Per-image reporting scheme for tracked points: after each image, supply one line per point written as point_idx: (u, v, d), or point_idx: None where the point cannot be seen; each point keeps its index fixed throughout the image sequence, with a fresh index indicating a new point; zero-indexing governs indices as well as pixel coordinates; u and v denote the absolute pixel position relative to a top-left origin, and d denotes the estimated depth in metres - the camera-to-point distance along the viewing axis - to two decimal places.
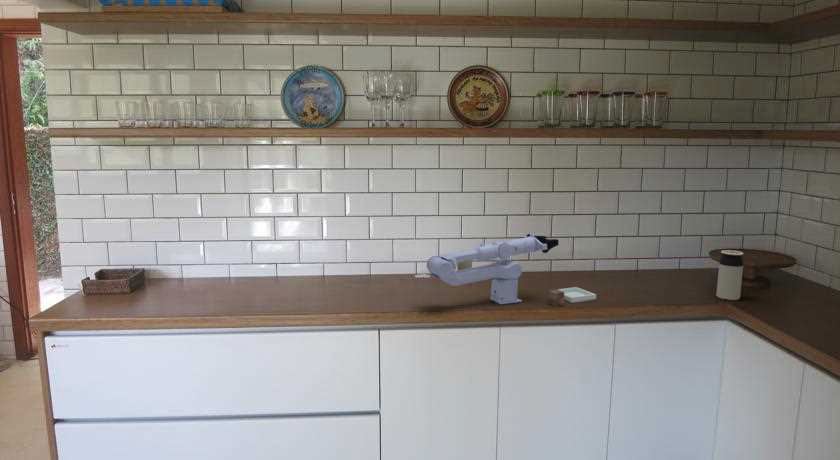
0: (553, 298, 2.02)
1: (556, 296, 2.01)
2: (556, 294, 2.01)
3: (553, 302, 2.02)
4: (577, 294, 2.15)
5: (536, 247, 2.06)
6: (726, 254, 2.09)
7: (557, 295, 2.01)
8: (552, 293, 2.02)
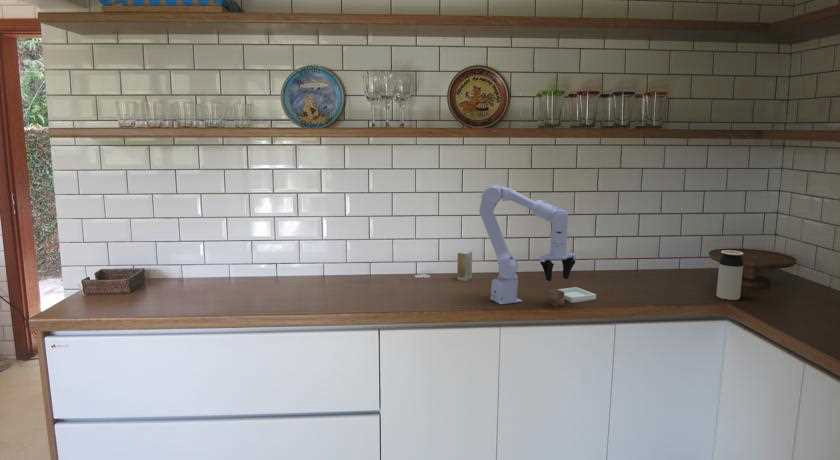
0: (553, 298, 2.02)
1: (556, 296, 2.01)
2: (556, 294, 2.01)
3: (553, 302, 2.02)
4: (577, 294, 2.15)
5: (550, 255, 2.00)
6: (726, 254, 2.09)
7: (557, 294, 2.01)
8: (552, 293, 2.02)
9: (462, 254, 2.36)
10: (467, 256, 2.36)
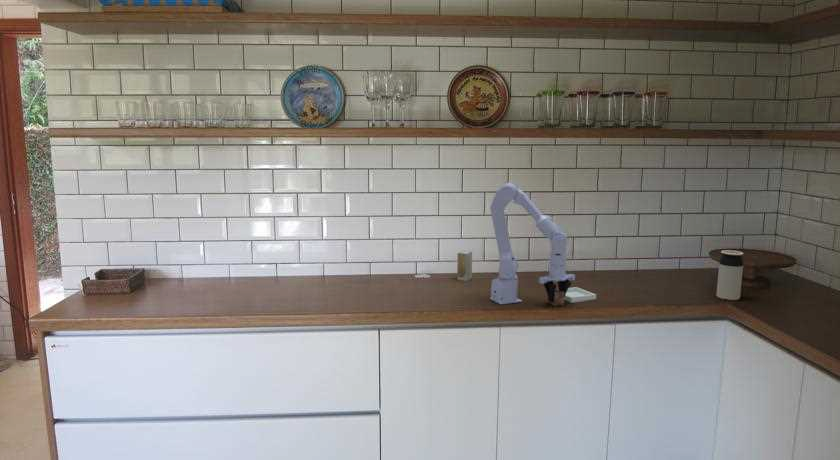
0: None
1: (556, 296, 2.01)
2: (556, 294, 2.01)
3: (553, 301, 2.02)
4: (577, 294, 2.15)
5: (549, 276, 2.02)
6: (726, 254, 2.09)
7: (557, 294, 2.01)
8: None
9: (462, 254, 2.36)
10: (467, 256, 2.36)
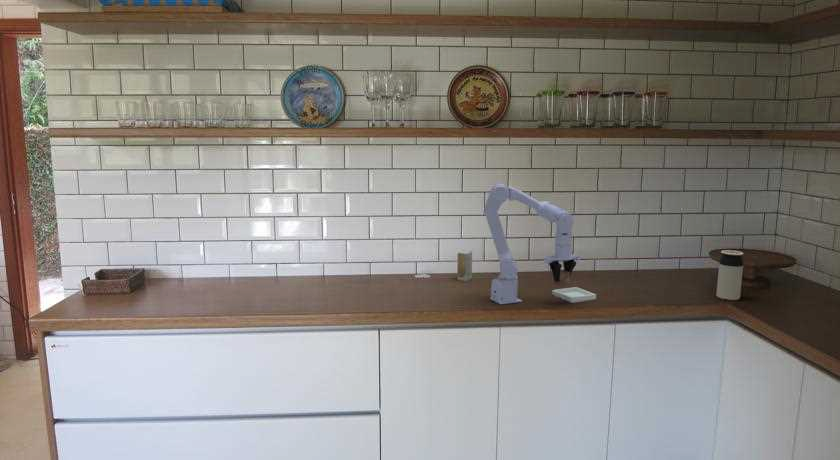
0: None
1: (561, 276, 2.02)
2: (561, 274, 2.02)
3: (559, 281, 2.03)
4: (577, 294, 2.15)
5: (554, 256, 2.03)
6: (726, 254, 2.09)
7: (563, 274, 2.02)
8: None
9: (462, 254, 2.36)
10: (467, 256, 2.36)
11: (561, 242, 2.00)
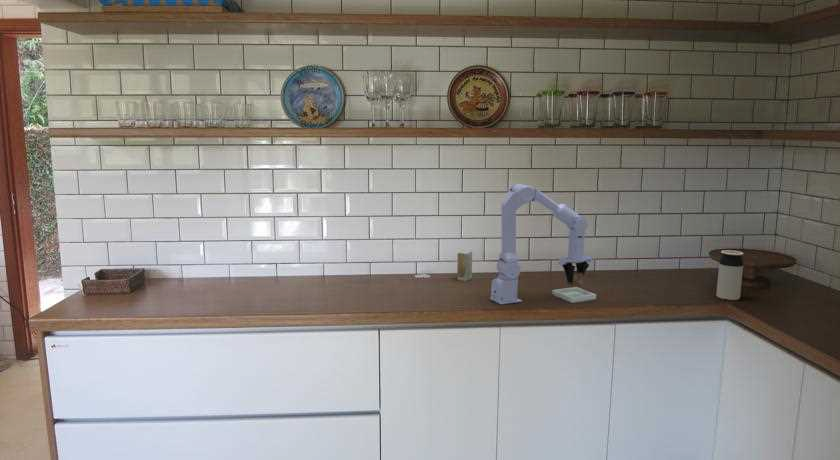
0: None
1: (574, 277, 2.09)
2: (575, 275, 2.09)
3: (572, 282, 2.10)
4: (577, 294, 2.15)
5: (568, 258, 2.10)
6: (726, 254, 2.09)
7: (576, 275, 2.09)
8: None
9: (462, 254, 2.36)
10: (467, 256, 2.36)
11: (577, 245, 2.07)
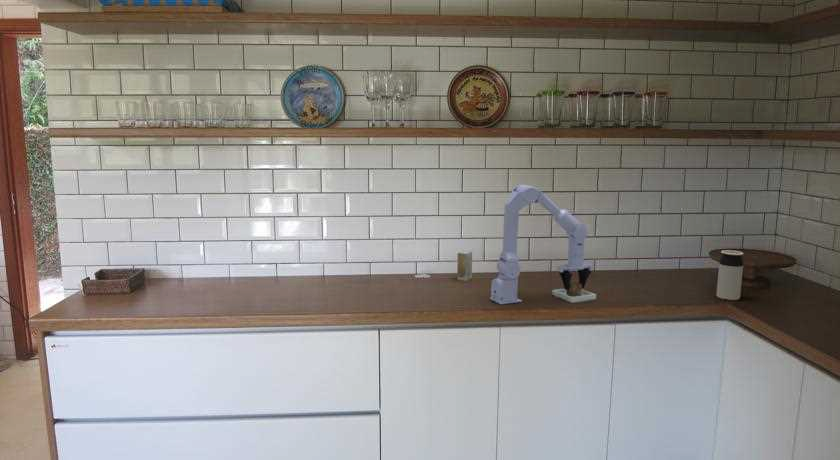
0: (571, 289, 2.11)
1: (574, 288, 2.10)
2: (574, 286, 2.10)
3: (571, 293, 2.11)
4: None
5: (567, 266, 2.11)
6: (726, 254, 2.09)
7: (575, 286, 2.10)
8: (570, 285, 2.11)
9: (462, 254, 2.36)
10: (467, 256, 2.36)
11: (576, 252, 2.07)
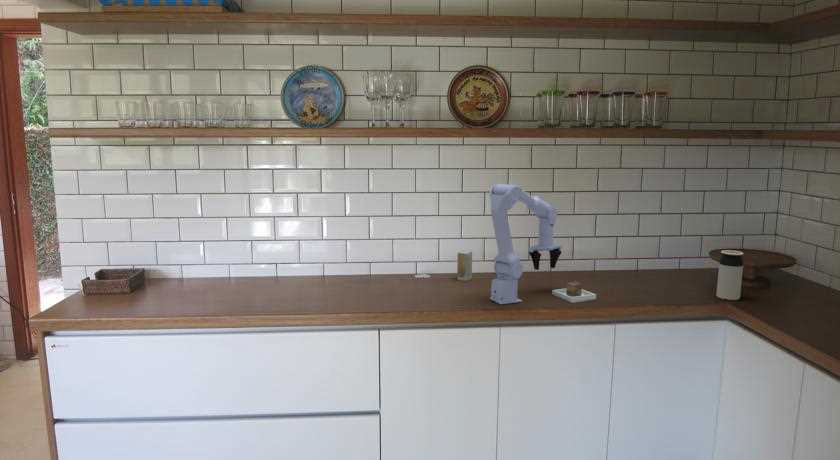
0: (571, 289, 2.11)
1: (574, 288, 2.10)
2: (574, 286, 2.10)
3: (571, 293, 2.11)
4: None
5: (538, 246, 2.18)
6: (726, 254, 2.09)
7: (575, 286, 2.10)
8: (570, 285, 2.11)
9: (462, 254, 2.36)
10: (467, 256, 2.36)
11: (549, 233, 2.15)
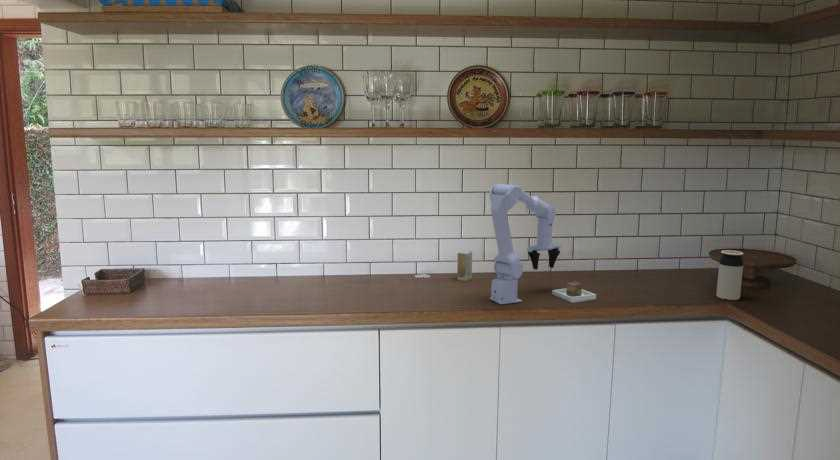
0: (571, 289, 2.11)
1: (574, 288, 2.10)
2: (574, 286, 2.10)
3: (571, 293, 2.11)
4: None
5: (536, 246, 2.18)
6: (726, 254, 2.09)
7: (575, 286, 2.10)
8: (570, 285, 2.11)
9: (462, 254, 2.36)
10: (467, 256, 2.36)
11: (548, 232, 2.15)
